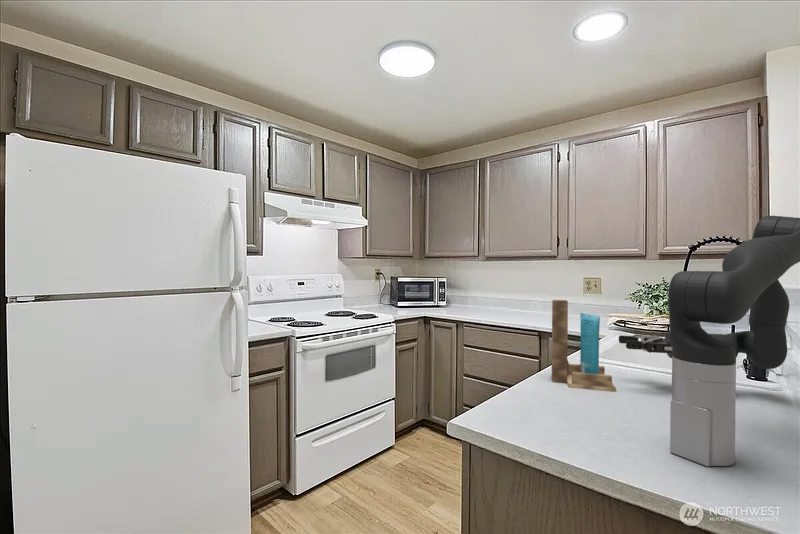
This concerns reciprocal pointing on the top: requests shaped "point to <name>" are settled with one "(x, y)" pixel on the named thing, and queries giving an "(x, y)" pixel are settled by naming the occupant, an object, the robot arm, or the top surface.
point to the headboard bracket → (560, 364)
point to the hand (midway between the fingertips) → (622, 341)
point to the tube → (589, 344)
